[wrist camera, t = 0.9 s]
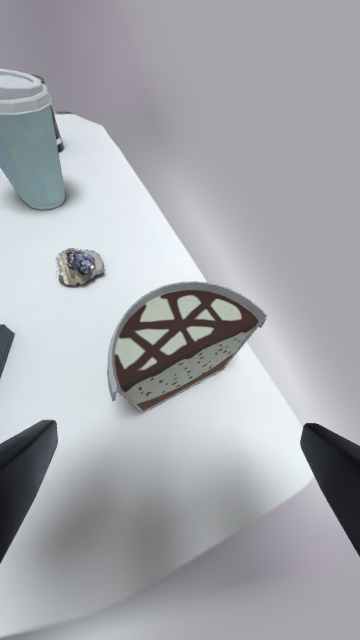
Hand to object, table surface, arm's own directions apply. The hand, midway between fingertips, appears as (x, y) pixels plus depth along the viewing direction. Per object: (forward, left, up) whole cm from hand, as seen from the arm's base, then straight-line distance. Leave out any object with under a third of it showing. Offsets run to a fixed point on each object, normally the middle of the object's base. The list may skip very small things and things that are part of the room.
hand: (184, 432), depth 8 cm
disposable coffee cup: (+39, +18, -14) cm, 45 cm away
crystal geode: (+23, +11, -14) cm, 29 cm away
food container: (+8, -1, -14) cm, 16 cm away
